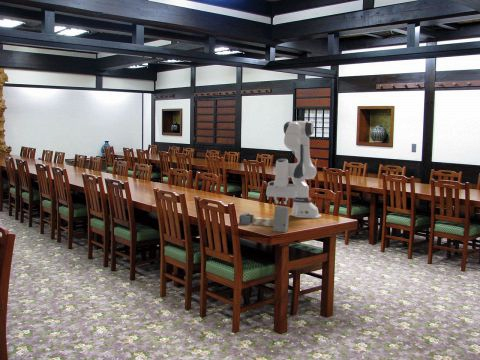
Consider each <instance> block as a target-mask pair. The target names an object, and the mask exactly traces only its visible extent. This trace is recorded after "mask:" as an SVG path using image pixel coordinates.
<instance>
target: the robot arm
mask: <svg viewBox="0 0 480 360" xmlns="http://www.w3.org/2000/svg"><path fill="white" fill-rule="evenodd" d="M314 127H315V126H314V123H313V122H312V121H309V120H305V121H304V120H294V121H287V122H285V123H284V124H283V133H284V138H283V143H284V146H285V147H286V148H287V149H288V150H291V151H292V152H294V156H295V157H294V158H296V159H297V162H294V163H290V162H289V160H288V159H287V158H278V159H276V161H275V170H274V173H275V177H274V180H271V181H268V183H267V186H266V192H265V195H266V197H273V200H274V201H275V204H276V205H279V200H277V198H285V199H284V200H285V201H283V205H287V202H288V200H289V199H292V208H291V209H292V210H291V212H290V215H291V216H292V217H295V218H302V219H303V218H307V219H319V218H322V214H321V213H319V208H318V207H317V206H316V205H315V204H314V203H313V202H312V197H310V196H309V193H310V192H309V191H310V186H309V185H308V184H307V182H306V180H311V179H314V178H315V177H316V175H317V171H318V170H317V167H316V166H314V164H313V162H312V159H311V153H310V152H311V151H310V137H311V136H312V135H313V134H314V131H315V128H314ZM289 178H291V180H292V183H289Z"/></svg>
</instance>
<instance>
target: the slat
mask: <svg viewBox="0 0 480 360" xmlns="http://www.w3.org/2000/svg"><path fill="white" fill-rule="evenodd" d="M273 224H274V218H270V217H269V218H267V217H259V216H257V217H256V216H254V218H253V223H252V225H256V226H266V227H273Z"/></svg>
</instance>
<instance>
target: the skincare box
mask: <svg viewBox="0 0 480 360" xmlns="http://www.w3.org/2000/svg"><path fill="white" fill-rule="evenodd" d="M273 212H274V213H273V214H274V215H273V219H274V224H273V226H272V231H273V232H277V233H279V232H280V233H286V232H288V231H289V221H290V206H284V205H275V206H274V211H273Z"/></svg>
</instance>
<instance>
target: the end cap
mask: <svg viewBox="0 0 480 360" xmlns="http://www.w3.org/2000/svg"><path fill="white" fill-rule="evenodd" d="M254 217H255V214H251V213H250V212H244V213H241V214H240V215H239V220H238V221H239V225H251V223H252V224H253V218H254Z"/></svg>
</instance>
